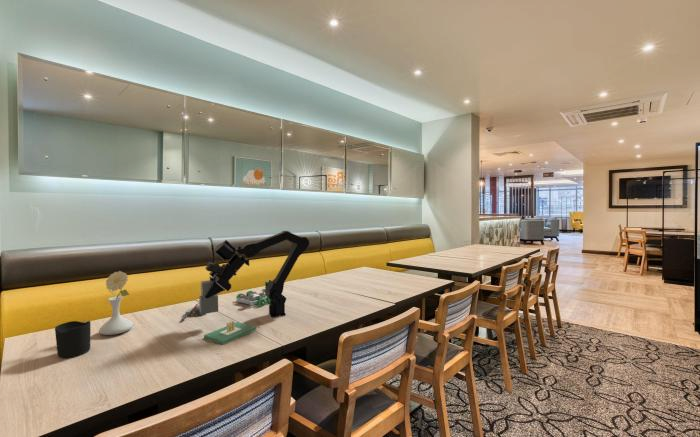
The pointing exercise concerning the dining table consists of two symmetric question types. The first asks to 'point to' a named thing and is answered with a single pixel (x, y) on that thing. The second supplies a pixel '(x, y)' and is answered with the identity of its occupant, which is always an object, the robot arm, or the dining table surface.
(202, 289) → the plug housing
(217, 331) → the board
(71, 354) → the pen holder
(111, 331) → the flower in vase
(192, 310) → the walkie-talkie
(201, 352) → the dining table surface
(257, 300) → the robot kit
